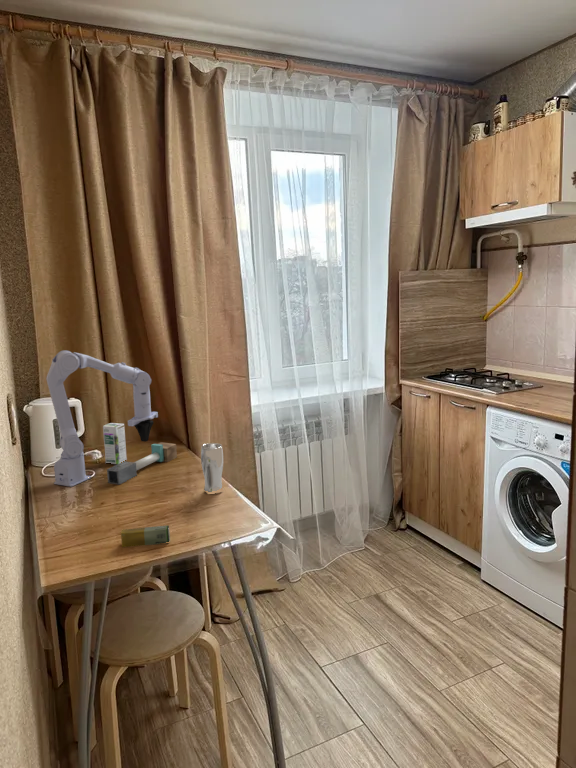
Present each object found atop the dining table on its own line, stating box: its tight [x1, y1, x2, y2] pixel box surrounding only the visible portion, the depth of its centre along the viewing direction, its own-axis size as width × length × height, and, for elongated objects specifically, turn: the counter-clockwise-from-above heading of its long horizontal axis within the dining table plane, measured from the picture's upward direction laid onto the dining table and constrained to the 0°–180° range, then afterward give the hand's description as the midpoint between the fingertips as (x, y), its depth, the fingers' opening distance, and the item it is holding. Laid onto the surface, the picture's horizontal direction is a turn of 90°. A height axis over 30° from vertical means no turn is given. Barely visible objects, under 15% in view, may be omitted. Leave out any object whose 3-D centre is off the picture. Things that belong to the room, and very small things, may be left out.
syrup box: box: [102, 422, 128, 465], centre depth 205 cm, size 6×6×14 cm
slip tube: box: [133, 443, 164, 472], centre depth 200 cm, size 20×4×6 cm, turn 157°
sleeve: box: [106, 460, 138, 486], centre depth 187 cm, size 9×5×5 cm, turn 157°
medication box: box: [120, 524, 171, 548], centre depth 141 cm, size 12×3×4 cm, turn 99°
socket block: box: [158, 441, 178, 463], centre depth 209 cm, size 6×7×5 cm
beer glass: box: [200, 442, 224, 492], centre depth 174 cm, size 7×7×15 cm
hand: (144, 440), depth 198 cm, fingers closed
